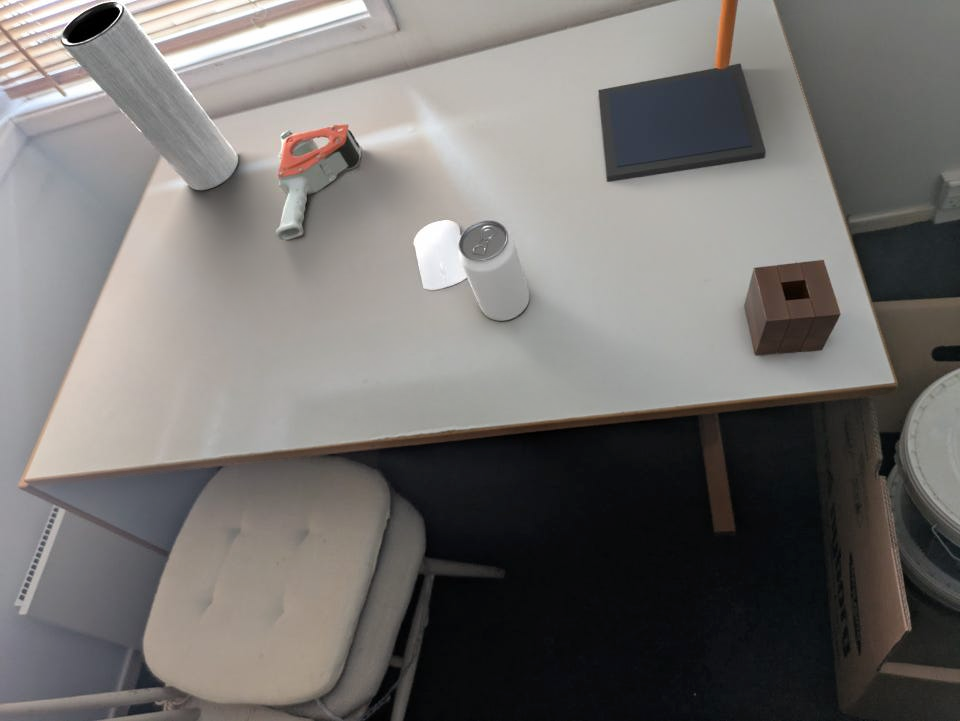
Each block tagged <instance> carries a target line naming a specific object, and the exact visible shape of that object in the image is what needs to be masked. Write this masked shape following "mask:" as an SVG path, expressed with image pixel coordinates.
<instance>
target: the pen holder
mask: <svg viewBox="0 0 960 721" xmlns="http://www.w3.org/2000/svg"><path fill="white" fill-rule="evenodd" d="M743 308H744V311H745V315H746V320H747V325H748V329H749V333H750V340H751V343H752V347H753V352H754V356H766V355H776V354H789V353H790V354H791V353H792V354H793V353H802V352H804V353H805V352H817V351H823V349H824V348H825V346H826V344H827V342H828V340H829V338H830V336H831V334H832V333H833V331H834V328H835V326H836V324H837V322H838V320H839V318H841V310H840V307H839V303H838V300H837V298H836V295H835V291H834V288H833V284H832V282H831V279H830V276H829V272H828V269H827V266H826V262H825V260H824V259H818V260H809V261H800V262H793V263H784V264H776V265H766V266H757V267H753V269H752V272H751V277H750V281H749V285H748V288H747V292H746V297H745V301H744V305H743Z"/></svg>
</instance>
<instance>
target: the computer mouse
mask: <svg viewBox="0 0 960 721" xmlns="http://www.w3.org/2000/svg"><path fill="white" fill-rule="evenodd" d="M461 235H462V234H461V229H460V225H459V224H458V223H457V222H456V221H452V220H450V219H444V220H443V219H442V220H437V221H435V222H431V223H429V224H427V225H425V226H424V227H422V228H421V229H420V230H419V231H418V233H417V234H416V236H415V237H414V240H413V245H414V250H415V255H416V261H417V264H418V269H419V274H420V280H421V283H422V287H423V289H425V290H428V291H439V290H442V289H446V288H450V287H453V286H455V285H457V284H459V283H461V282H464V280H466V279H468V278H467V276H466V273H465V271H464V269H463V266H462V264H461V261H460V258H459V239H460V237H461Z"/></svg>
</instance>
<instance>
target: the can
mask: <svg viewBox="0 0 960 721" xmlns="http://www.w3.org/2000/svg"><path fill="white" fill-rule="evenodd" d="M459 258H460V261H461V264H462V266H463V269H464V271H465V273H466V276H467V278H466V279H467V280H468V282H469V283H468V284H469V285H470V287H471V290H472V292H473V294H474V297H475V299H476V301H477V303H478V306H479V309H480V310H481V312H482V313H483V314H484V316H486V317H487V318H488V319H491V320H494V321H498V322H499V321H500V322H501V321H509V320H512V319H515V318H516V317H518V316H519V315H521V314H522V313H523V312H524V311H525V310H526V308H527V306H528V304H529V302H530V292H529V288H528V284H527V280H526V277H525V274H524V270H523V266H522V264H521V259H520V256H519V253H518V249H517V246H516V243H515V240H514V238H513V236H512V234H511V233H510V232H509V231H508V230H507V228H506V227H505V225H504V224H502V223H500V222H499V221H497V220H490V219H488V220H486V219H485V220H480V221H477V222H474V223H473V224H471V225H469V226H468V227H466V228H465V229H464V231H463V232H462V234H461V235H460V239H459Z"/></svg>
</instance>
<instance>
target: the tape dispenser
mask: <svg viewBox="0 0 960 721" xmlns="http://www.w3.org/2000/svg"><path fill="white" fill-rule="evenodd" d="M316 138H317V139H319V138H327V139H328V140H329V141H328V143H327V144H325V145H324V146H321V147H319V145H318V144H317V143H316V142H315V140H314V139H316ZM280 140H281V148H280V151H279V153H278V158H279V159H280V164H279V169H278V172H277V178H278V187H279V188H280V189H281V190H282V191H283V193H285V194H288V195H287V197H286V200H285V203H284V207H283V210H282V214H281V218H280V225H279V226H278V228H277V229H276V230H275V234H274V235H275V236H276V238H277V239H279V240H281V241H290V240H293V239H295V238H298V237H300V236H302V235H303V234H304V228H303V222H304V220H305V211H306V203H307V201H308V199H307V195H309V194H315V193H318V192H319V191H321V190H322V189H323V188H324V187H326V186H327V185H329V184H331V183H332V182H333V181H335V180H336V179H337V177H338V174H339V173H341V172H342V171H343V170H345V169H346V170H353V169H355V168H357V167H358V166H359V164H360V160H361V156H362V151H363V147H362V146H361V145H360V144H359V142H358V141H357V139H356V137H355V136H354V134H353V133H352V131H351V130H350V129H349V124H332V125H331V126H327V127H323V128H318V129H313V130H309V131H302V132H297V133H295V132H294V131H292V130H290V129H289V130H286V131H284V132H282V134H281V135H280Z"/></svg>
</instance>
